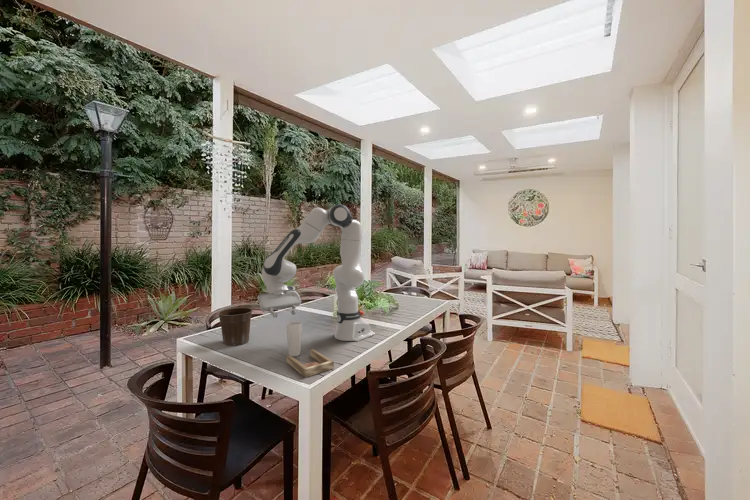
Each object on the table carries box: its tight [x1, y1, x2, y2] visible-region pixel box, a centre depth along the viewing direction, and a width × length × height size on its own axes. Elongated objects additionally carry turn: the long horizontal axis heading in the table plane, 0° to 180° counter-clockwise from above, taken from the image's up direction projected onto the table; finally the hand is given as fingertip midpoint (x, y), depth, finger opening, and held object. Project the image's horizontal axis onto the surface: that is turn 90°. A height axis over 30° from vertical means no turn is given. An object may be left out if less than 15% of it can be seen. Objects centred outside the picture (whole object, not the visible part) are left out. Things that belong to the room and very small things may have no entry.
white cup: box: [286, 320, 303, 358], centre depth 145 cm, size 7×7×15 cm
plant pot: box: [217, 307, 253, 347], centre depth 161 cm, size 16×16×16 cm
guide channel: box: [286, 348, 335, 378], centre depth 134 cm, size 13×18×3 cm
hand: (285, 315), depth 152 cm, fingers open, 8 cm apart
